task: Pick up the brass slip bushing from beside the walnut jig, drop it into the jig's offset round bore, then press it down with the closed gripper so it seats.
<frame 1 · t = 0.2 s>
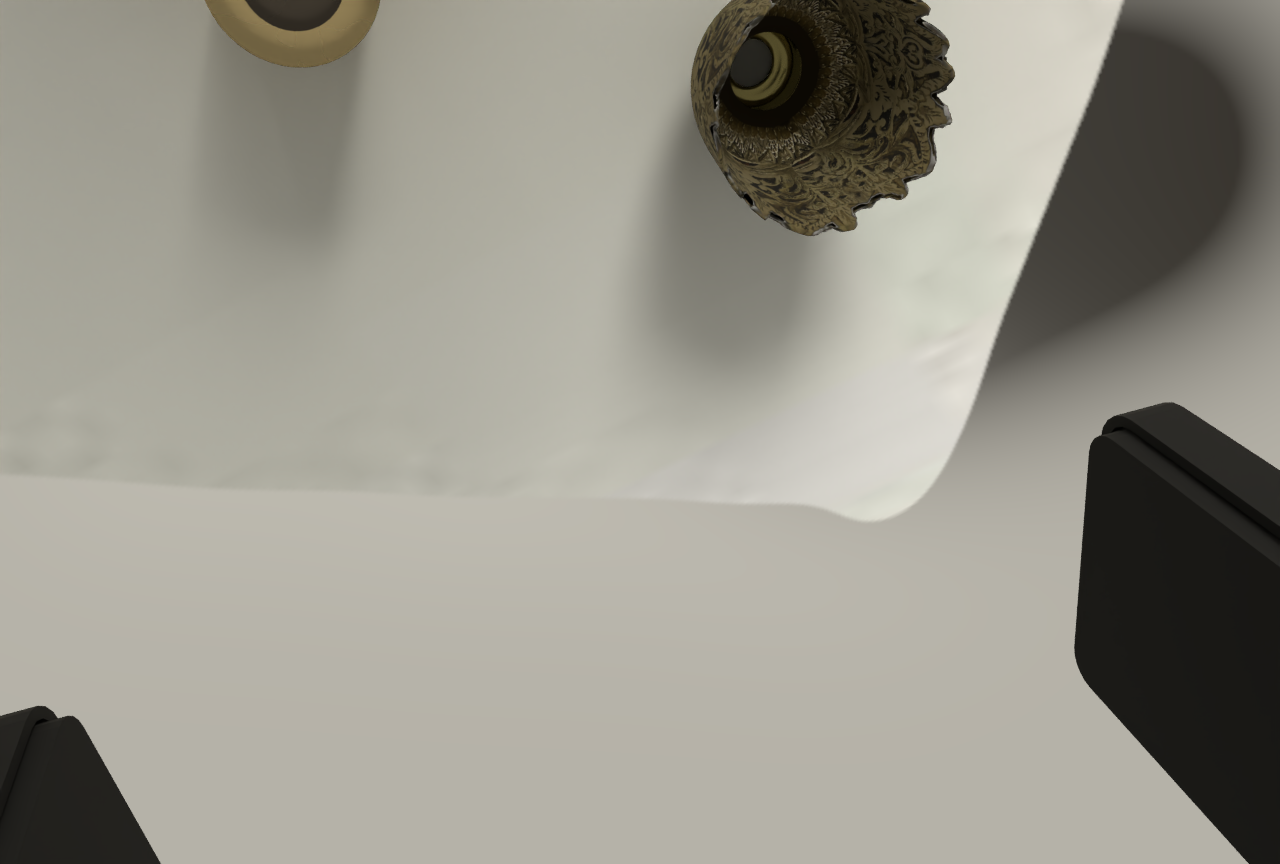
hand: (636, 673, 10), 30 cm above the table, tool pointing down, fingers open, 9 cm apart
cup: (747, 61, 38), on the table
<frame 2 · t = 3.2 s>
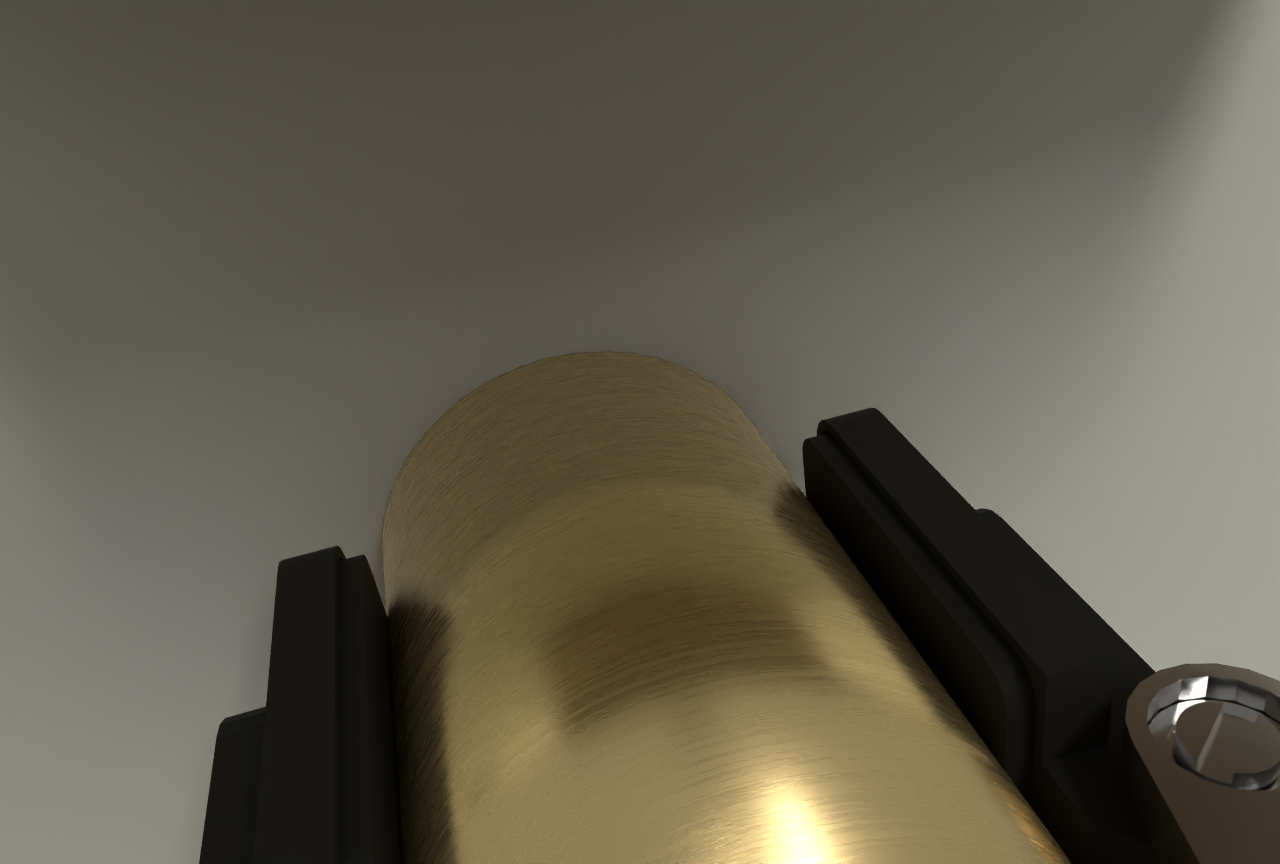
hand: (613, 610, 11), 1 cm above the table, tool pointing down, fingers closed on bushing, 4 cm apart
bushing: (586, 534, 12), on the table, touching gripper
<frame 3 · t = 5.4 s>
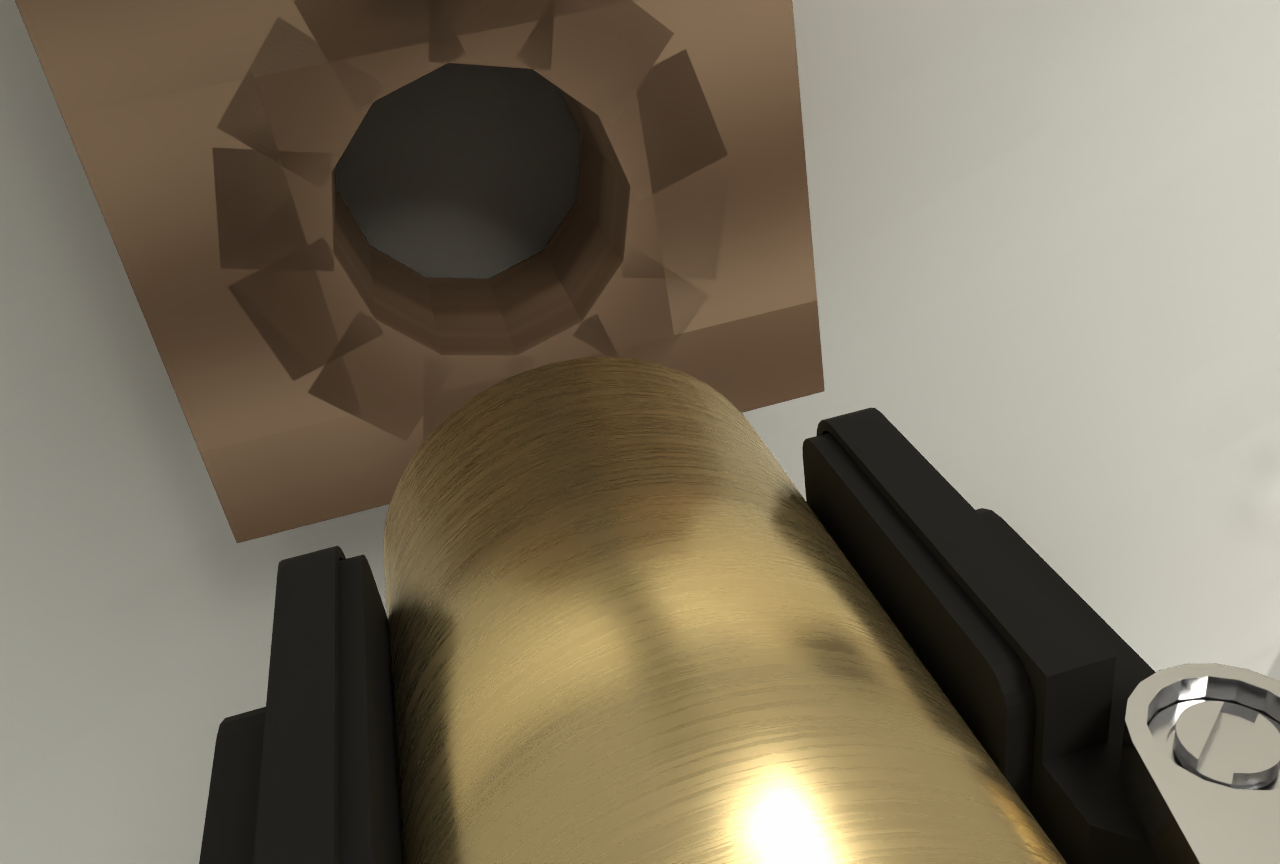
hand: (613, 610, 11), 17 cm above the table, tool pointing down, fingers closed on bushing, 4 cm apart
jig: (422, 2, 23), on the table
bushing: (587, 539, 12), point 15 cm above the table, touching gripper
when the fingers open (7 cm above the table, at t = 7.8 s): bushing drops 6 cm, resting in jig.
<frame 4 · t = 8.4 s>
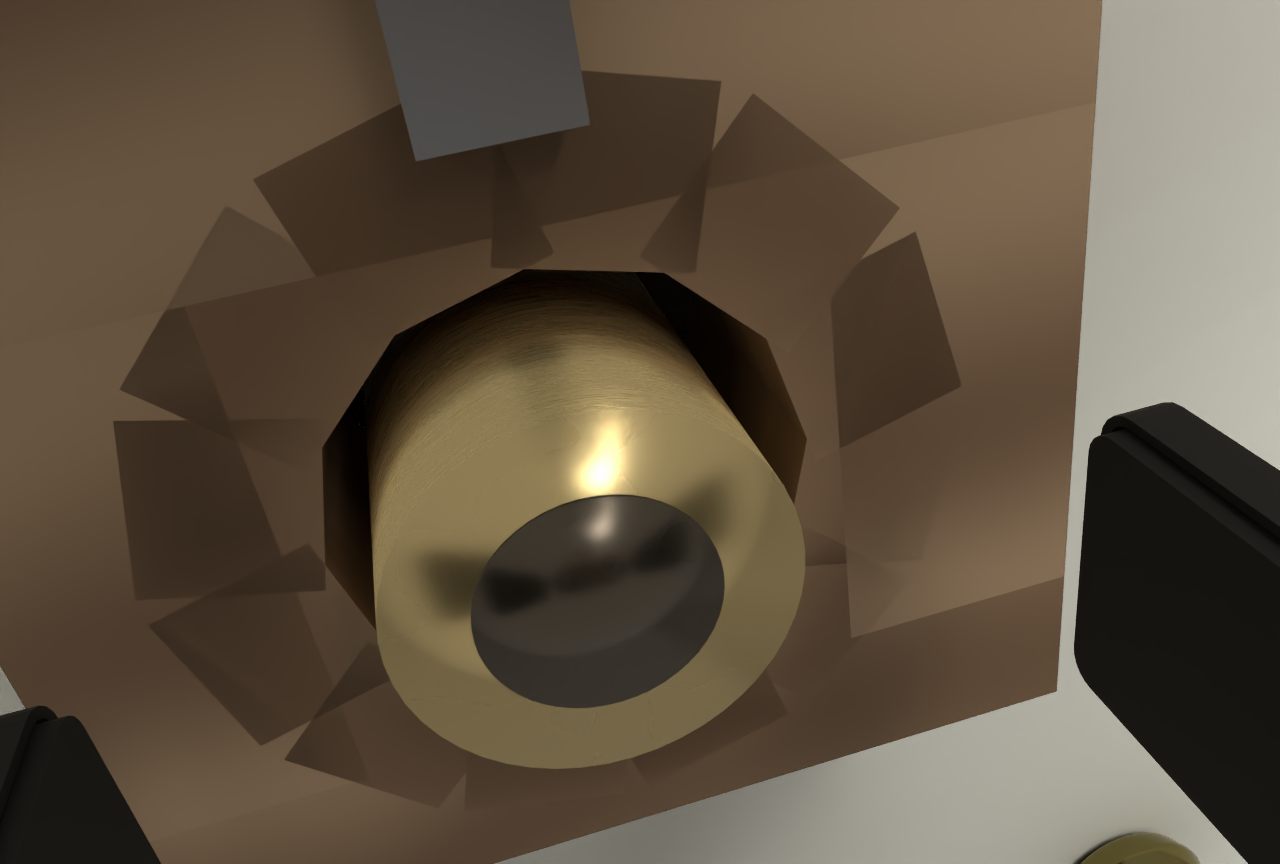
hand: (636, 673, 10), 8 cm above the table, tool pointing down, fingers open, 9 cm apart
jig: (463, 110, 15), on the table
bushing: (506, 335, 17), resting in jig
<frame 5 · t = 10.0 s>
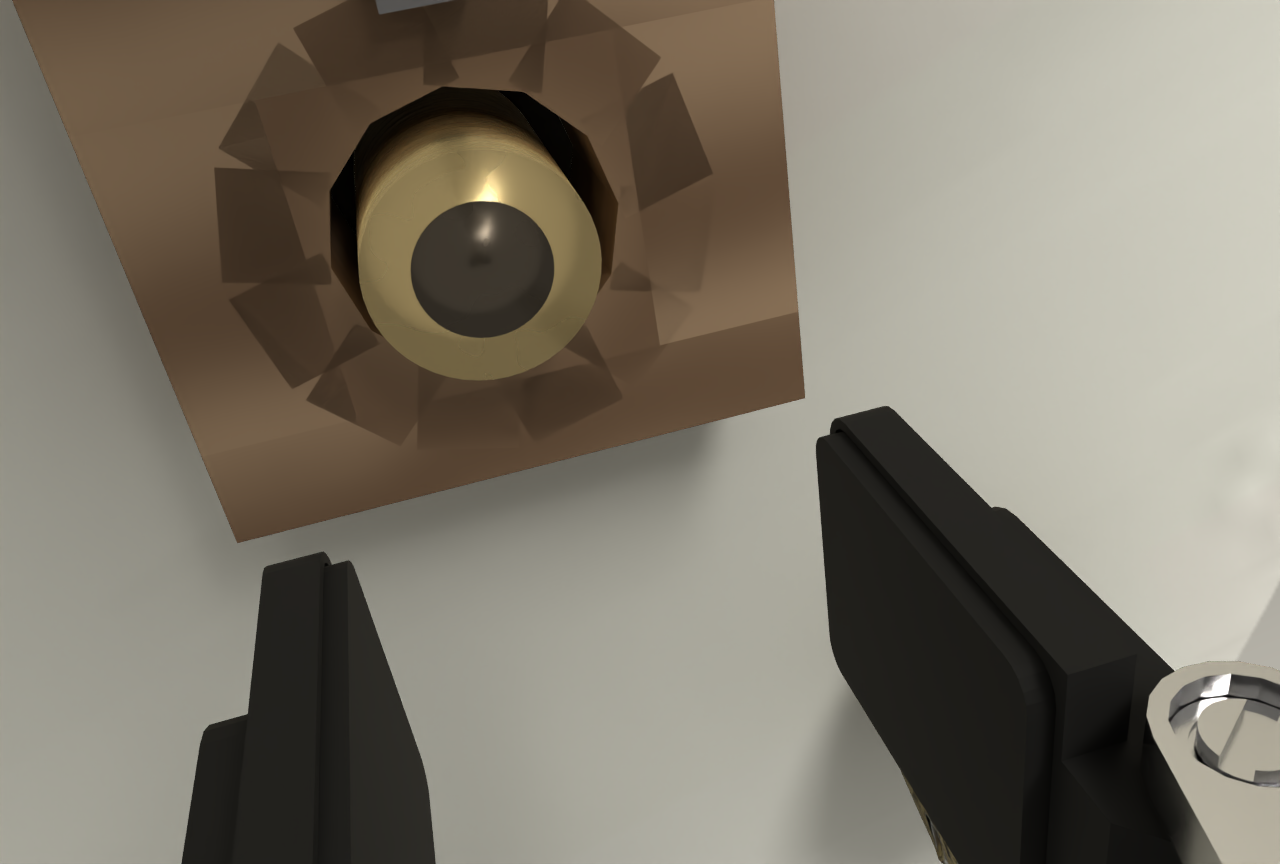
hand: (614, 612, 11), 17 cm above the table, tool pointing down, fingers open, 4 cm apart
jig: (417, 16, 24), on the table
cup: (925, 624, 37), on the table
bushing: (449, 171, 26), resting in jig
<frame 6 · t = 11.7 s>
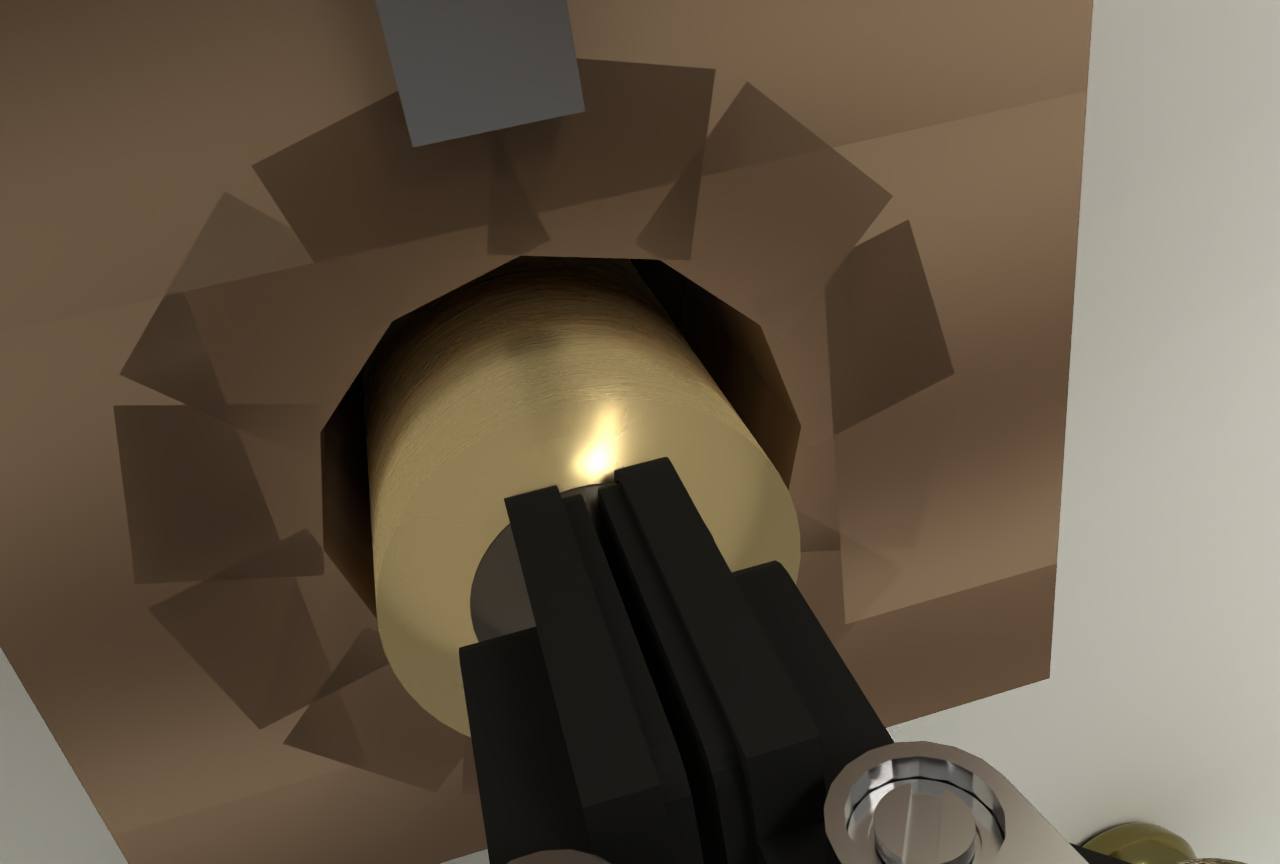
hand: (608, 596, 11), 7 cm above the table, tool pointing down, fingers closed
jig: (460, 100, 15), on the table
cup: (1104, 855, 28), on the table
bushing: (504, 325, 17), resting in jig, touching gripper
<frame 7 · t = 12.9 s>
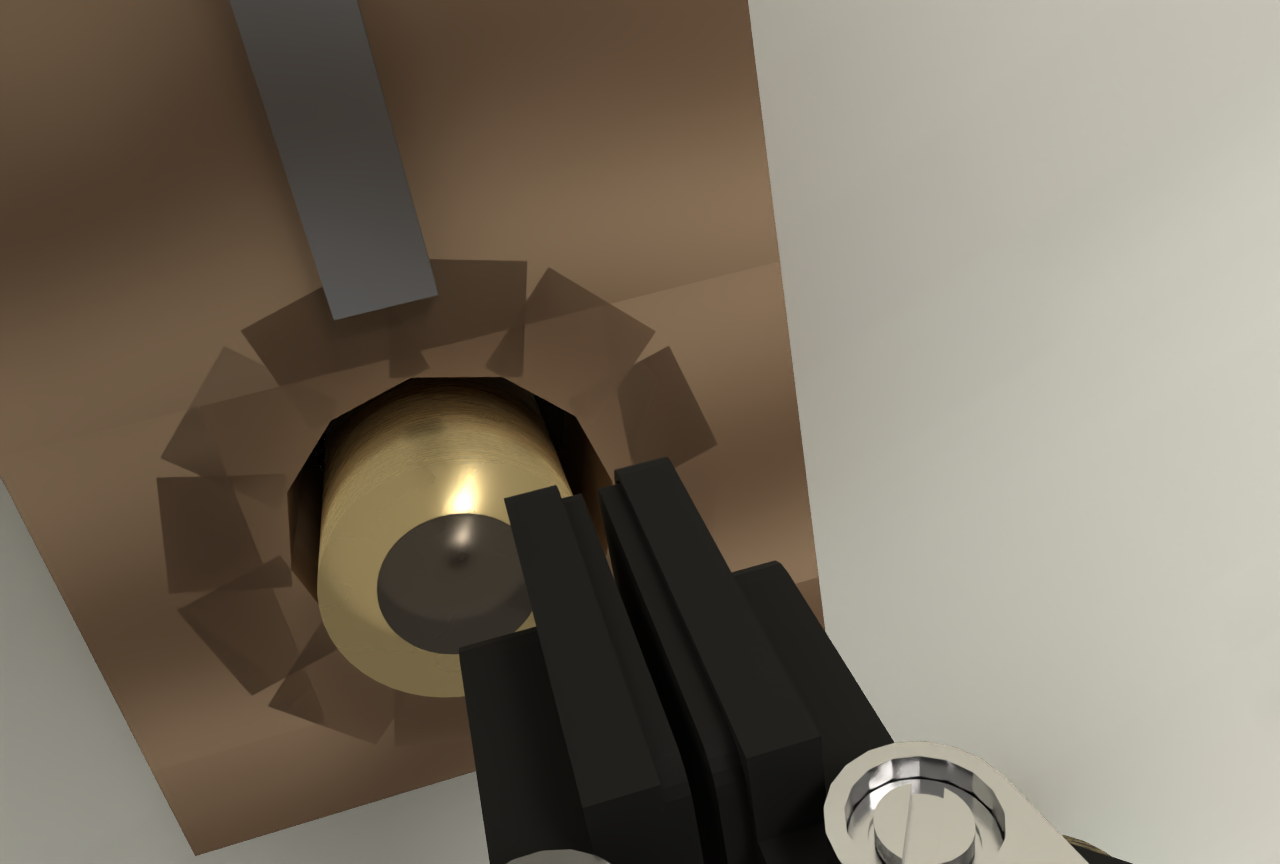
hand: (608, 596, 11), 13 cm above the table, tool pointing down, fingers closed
jig: (393, 262, 22), on the table
bushing: (432, 414, 23), resting in jig
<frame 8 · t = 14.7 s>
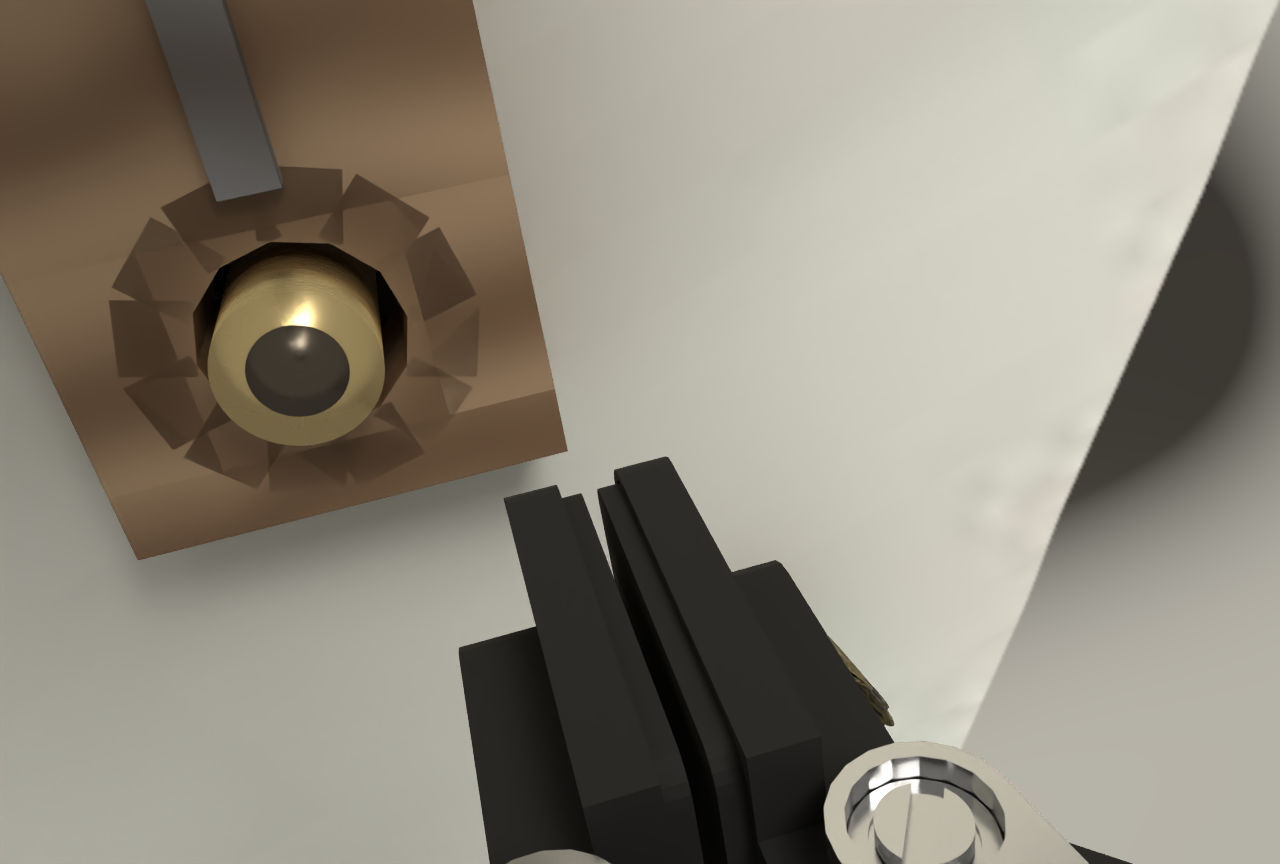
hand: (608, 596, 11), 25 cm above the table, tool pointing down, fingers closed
jig: (273, 171, 32), on the table
cup: (727, 621, 45), on the table
bushing: (304, 279, 34), resting in jig
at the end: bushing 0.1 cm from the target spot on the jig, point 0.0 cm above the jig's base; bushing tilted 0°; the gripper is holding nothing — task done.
